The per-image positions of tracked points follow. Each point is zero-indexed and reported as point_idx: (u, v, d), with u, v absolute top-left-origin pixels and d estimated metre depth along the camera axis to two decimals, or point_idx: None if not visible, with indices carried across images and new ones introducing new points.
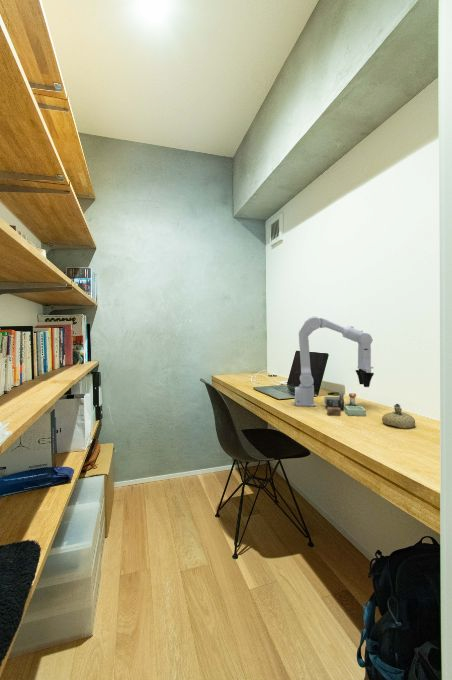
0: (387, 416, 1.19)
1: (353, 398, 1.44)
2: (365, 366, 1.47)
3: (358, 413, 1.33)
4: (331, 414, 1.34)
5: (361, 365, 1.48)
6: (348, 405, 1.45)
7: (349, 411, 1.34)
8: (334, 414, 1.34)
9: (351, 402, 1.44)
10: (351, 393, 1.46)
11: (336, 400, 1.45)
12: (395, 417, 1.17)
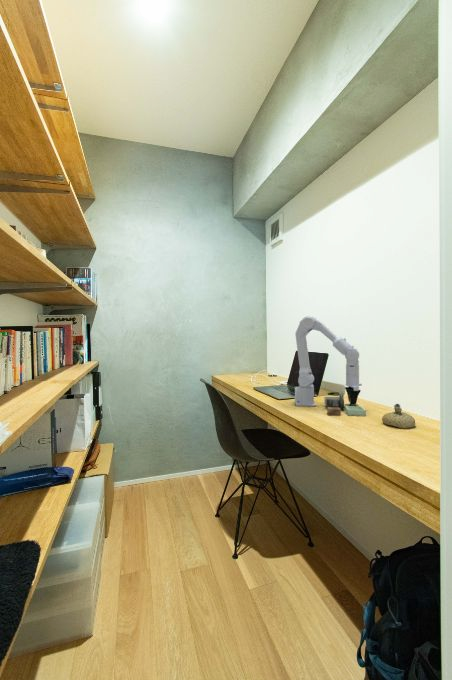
0: (387, 416, 1.19)
1: None
2: (353, 383, 1.42)
3: (358, 413, 1.33)
4: (331, 414, 1.34)
5: (349, 382, 1.43)
6: (348, 405, 1.45)
7: (349, 411, 1.34)
8: (334, 414, 1.34)
9: None
10: None
11: (336, 400, 1.45)
12: (395, 417, 1.17)
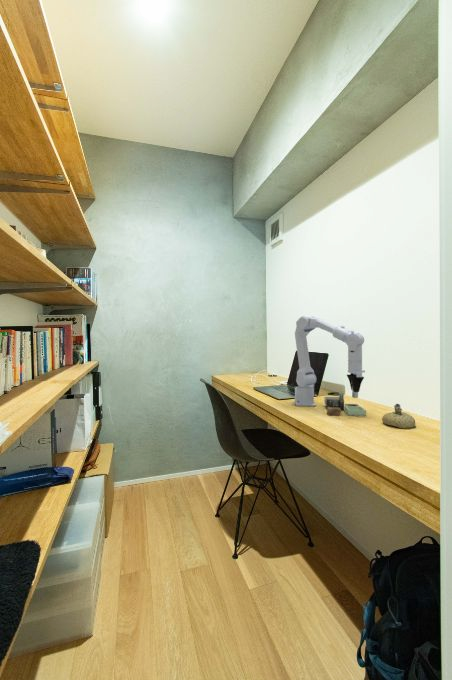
0: (387, 416, 1.19)
1: None
2: (356, 370, 1.34)
3: (358, 413, 1.33)
4: (331, 414, 1.34)
5: (351, 369, 1.35)
6: (348, 405, 1.45)
7: (349, 411, 1.34)
8: (334, 414, 1.34)
9: None
10: None
11: (336, 400, 1.45)
12: (395, 417, 1.17)
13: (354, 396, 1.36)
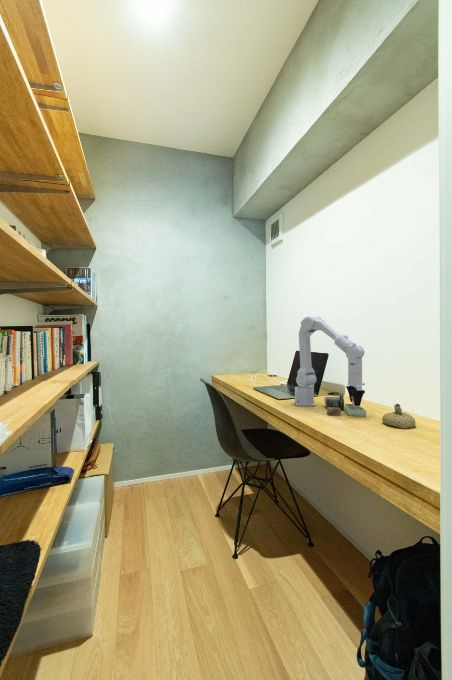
0: (387, 416, 1.19)
1: None
2: (356, 383, 1.33)
3: (358, 413, 1.33)
4: (331, 414, 1.34)
5: (351, 381, 1.34)
6: (348, 405, 1.45)
7: (349, 411, 1.34)
8: (334, 414, 1.34)
9: (354, 405, 1.36)
10: None
11: (336, 400, 1.45)
12: (395, 417, 1.17)
13: None
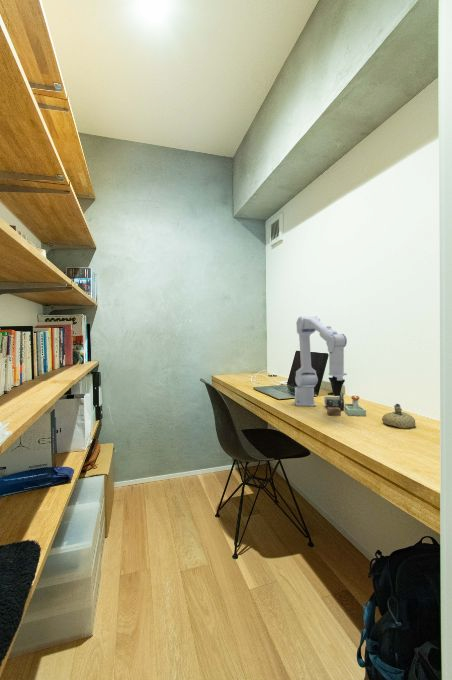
0: (387, 416, 1.19)
1: (356, 401, 1.36)
2: (337, 373, 1.26)
3: (358, 413, 1.33)
4: (331, 414, 1.34)
5: (332, 371, 1.27)
6: (348, 405, 1.45)
7: (349, 411, 1.34)
8: (334, 414, 1.34)
9: (354, 405, 1.36)
10: None
11: (336, 400, 1.45)
12: (395, 417, 1.17)
13: None
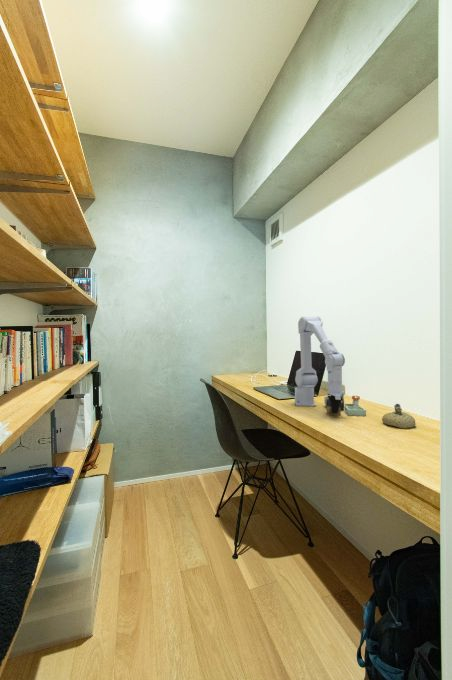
0: (387, 416, 1.19)
1: (356, 401, 1.35)
2: (335, 391, 1.30)
3: (358, 413, 1.33)
4: (331, 413, 1.35)
5: (331, 390, 1.31)
6: (348, 405, 1.45)
7: (349, 411, 1.34)
8: (334, 413, 1.34)
9: (354, 405, 1.36)
10: None
11: None
12: (396, 417, 1.17)
13: None
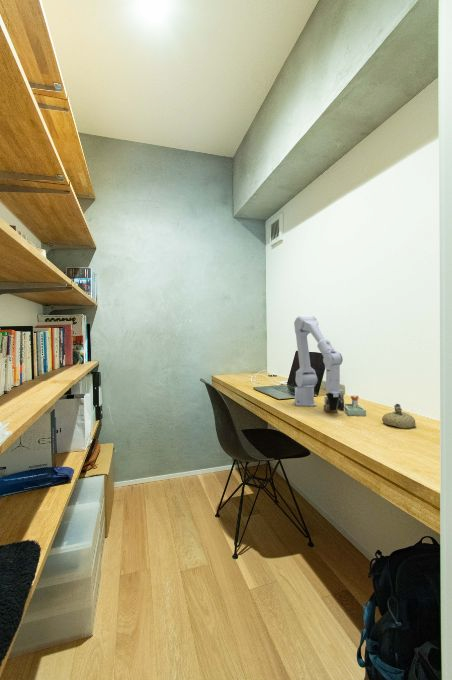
0: (387, 416, 1.19)
1: (356, 400, 1.36)
2: (333, 389, 1.35)
3: (358, 413, 1.33)
4: (329, 411, 1.39)
5: (329, 388, 1.36)
6: (348, 405, 1.45)
7: (349, 411, 1.34)
8: (332, 410, 1.39)
9: (354, 405, 1.36)
10: None
11: None
12: (396, 417, 1.17)
13: None
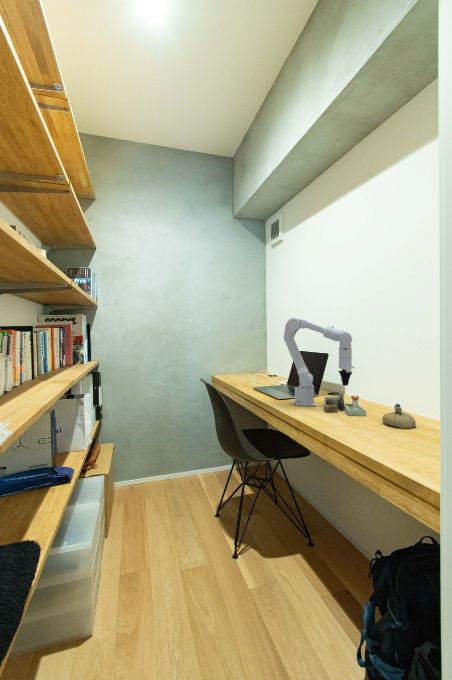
0: (387, 416, 1.19)
1: (356, 400, 1.36)
2: (346, 366, 1.46)
3: (358, 413, 1.33)
4: (329, 411, 1.39)
5: (342, 365, 1.47)
6: (348, 405, 1.45)
7: (349, 411, 1.34)
8: (331, 411, 1.39)
9: (354, 405, 1.36)
10: None
11: (336, 400, 1.45)
12: (396, 417, 1.17)
13: None
